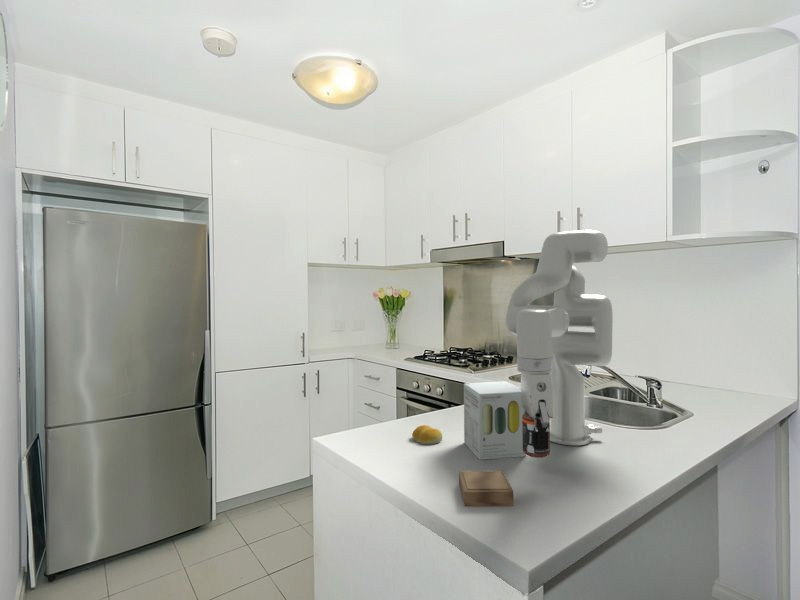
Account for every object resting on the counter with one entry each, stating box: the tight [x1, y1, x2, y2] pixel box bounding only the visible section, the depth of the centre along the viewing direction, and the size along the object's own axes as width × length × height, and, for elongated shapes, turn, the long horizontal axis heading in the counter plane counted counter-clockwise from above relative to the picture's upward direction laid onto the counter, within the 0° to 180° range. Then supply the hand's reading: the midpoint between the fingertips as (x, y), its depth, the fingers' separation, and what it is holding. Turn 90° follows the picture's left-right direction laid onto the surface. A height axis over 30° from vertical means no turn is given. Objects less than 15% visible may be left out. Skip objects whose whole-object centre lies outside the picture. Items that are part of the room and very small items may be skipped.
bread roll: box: [411, 424, 443, 445], centre depth 127 cm, size 8×9×4 cm
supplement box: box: [463, 380, 527, 461], centre depth 118 cm, size 13×13×18 cm
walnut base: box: [458, 470, 515, 507], centre depth 93 cm, size 10×10×3 cm
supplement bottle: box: [522, 412, 551, 459], centre depth 97 cm, size 6×6×11 cm
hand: (536, 441), depth 97 cm, fingers closed on supplement bottle, 6 cm apart
